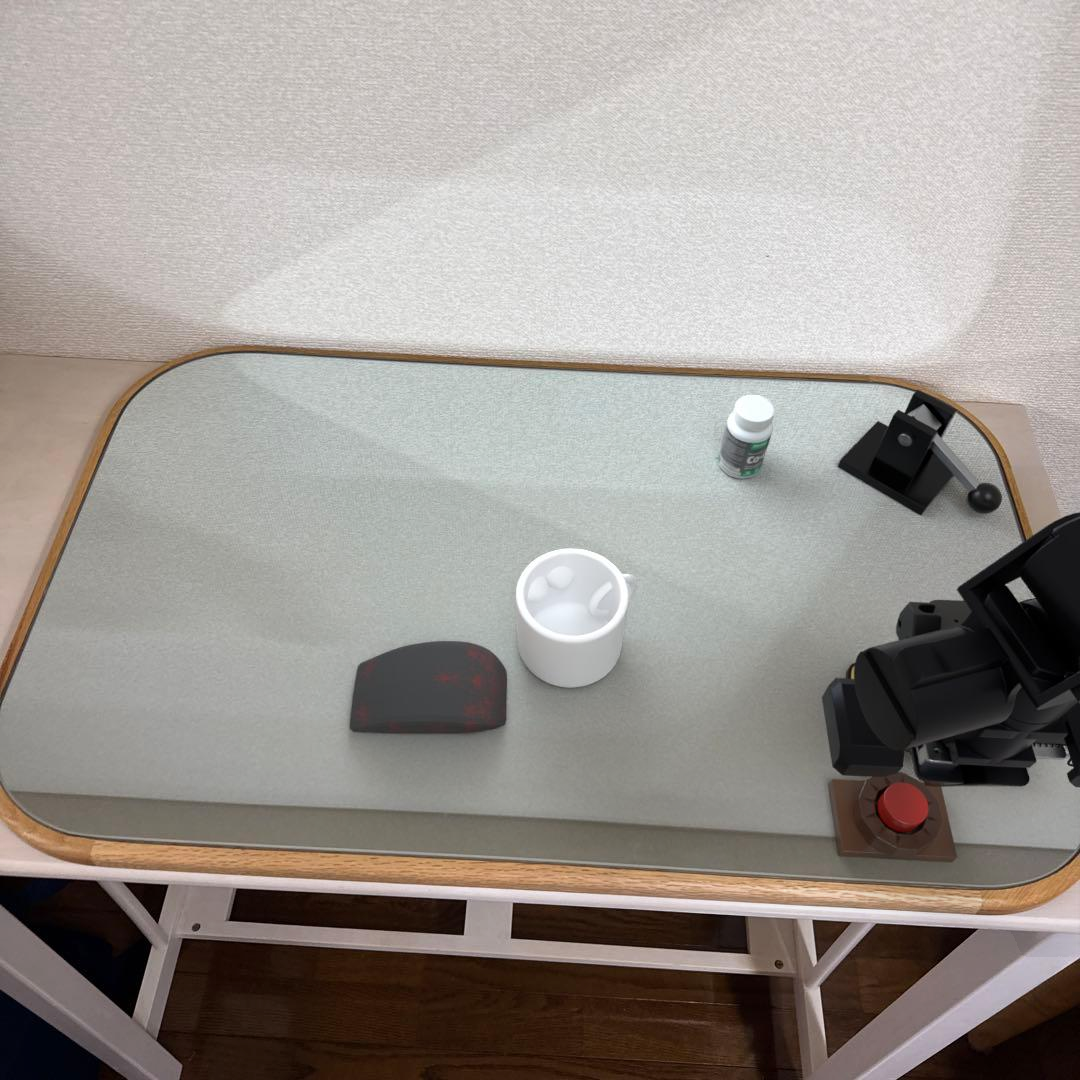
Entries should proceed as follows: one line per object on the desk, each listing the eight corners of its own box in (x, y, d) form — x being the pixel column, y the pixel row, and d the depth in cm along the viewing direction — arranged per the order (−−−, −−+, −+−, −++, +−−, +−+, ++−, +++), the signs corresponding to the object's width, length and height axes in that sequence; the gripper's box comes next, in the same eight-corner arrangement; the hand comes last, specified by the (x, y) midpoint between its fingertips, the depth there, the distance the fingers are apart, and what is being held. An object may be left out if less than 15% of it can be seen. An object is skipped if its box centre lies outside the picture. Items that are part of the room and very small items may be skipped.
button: (916, 791, 71) (923, 783, 70) (924, 833, 69) (932, 825, 68) (873, 789, 71) (880, 781, 70) (881, 831, 69) (888, 823, 68)
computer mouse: (505, 740, 76) (504, 720, 73) (348, 741, 76) (340, 721, 73) (507, 659, 81) (506, 637, 78) (359, 659, 81) (352, 637, 78)
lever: (989, 506, 92) (1014, 495, 89) (975, 524, 90) (1000, 513, 87) (906, 412, 92) (929, 399, 89) (891, 429, 90) (913, 415, 87)
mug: (598, 572, 87) (604, 515, 80) (661, 648, 82) (673, 595, 75) (494, 628, 83) (490, 573, 76) (554, 712, 78) (556, 662, 71)
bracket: (956, 473, 95) (990, 415, 88) (920, 515, 91) (952, 458, 84) (874, 427, 99) (900, 369, 92) (837, 466, 95) (860, 408, 88)
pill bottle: (741, 487, 94) (757, 431, 87) (708, 462, 96) (721, 406, 89) (770, 465, 96) (788, 409, 89) (737, 441, 98) (751, 385, 91)
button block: (935, 788, 74) (948, 774, 71) (952, 864, 70) (967, 852, 68) (827, 782, 74) (837, 768, 72) (838, 858, 70) (849, 846, 68)
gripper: (1133, 575, 57) (1026, 687, 69) (842, 563, 57) (788, 676, 70) (1201, 736, 50) (1069, 827, 63) (871, 720, 51) (806, 814, 63)
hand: (928, 779), depth 65 cm, fingers closed
